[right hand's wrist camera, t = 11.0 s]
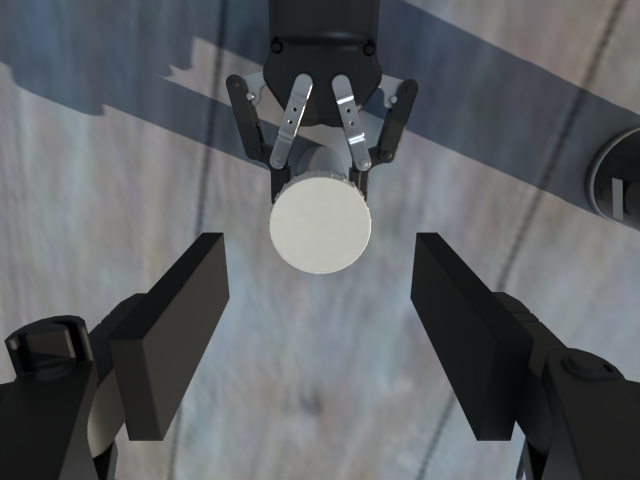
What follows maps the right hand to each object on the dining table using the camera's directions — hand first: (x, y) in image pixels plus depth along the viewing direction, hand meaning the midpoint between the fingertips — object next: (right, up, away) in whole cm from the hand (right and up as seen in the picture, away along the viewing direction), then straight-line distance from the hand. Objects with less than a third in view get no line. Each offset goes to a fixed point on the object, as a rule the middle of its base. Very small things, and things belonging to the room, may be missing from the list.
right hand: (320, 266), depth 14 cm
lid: (0, +2, +5) cm, 5 cm away
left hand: (0, +3, +16) cm, 17 cm away
